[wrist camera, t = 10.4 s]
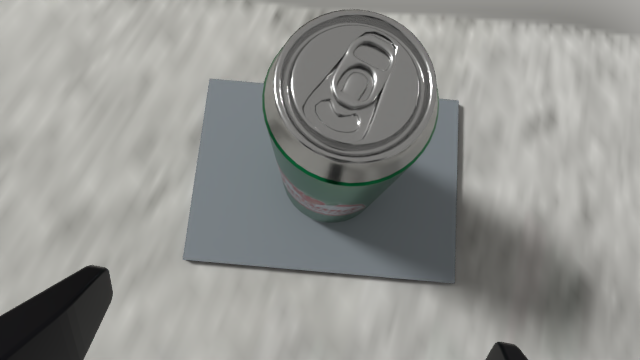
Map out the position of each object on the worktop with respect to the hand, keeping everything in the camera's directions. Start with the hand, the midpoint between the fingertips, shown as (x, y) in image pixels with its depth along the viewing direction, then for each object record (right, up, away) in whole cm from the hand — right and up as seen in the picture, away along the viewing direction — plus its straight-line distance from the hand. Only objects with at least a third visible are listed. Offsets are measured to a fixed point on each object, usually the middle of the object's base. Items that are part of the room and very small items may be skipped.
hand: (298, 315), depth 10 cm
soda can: (+1, +3, +13) cm, 14 cm away
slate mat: (+1, +3, +13) cm, 14 cm away
